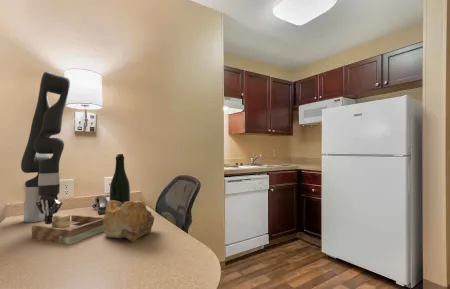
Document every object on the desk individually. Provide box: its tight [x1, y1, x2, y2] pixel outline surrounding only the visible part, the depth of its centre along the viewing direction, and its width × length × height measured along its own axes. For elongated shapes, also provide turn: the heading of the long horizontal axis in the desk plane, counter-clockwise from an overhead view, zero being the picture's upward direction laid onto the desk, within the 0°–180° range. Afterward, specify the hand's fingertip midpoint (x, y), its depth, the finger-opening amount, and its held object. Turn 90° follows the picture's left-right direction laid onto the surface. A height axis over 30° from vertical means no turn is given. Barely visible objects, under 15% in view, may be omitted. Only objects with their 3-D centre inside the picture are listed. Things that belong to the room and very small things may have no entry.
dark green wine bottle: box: [108, 153, 131, 204], centre depth 131 cm, size 10×10×33 cm
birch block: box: [51, 213, 71, 228], centre depth 102 cm, size 4×4×4 cm
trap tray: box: [31, 214, 104, 245], centre depth 100 cm, size 20×18×5 cm
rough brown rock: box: [103, 200, 155, 243], centre depth 97 cm, size 23×17×15 cm
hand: (48, 223), depth 104 cm, fingers closed
